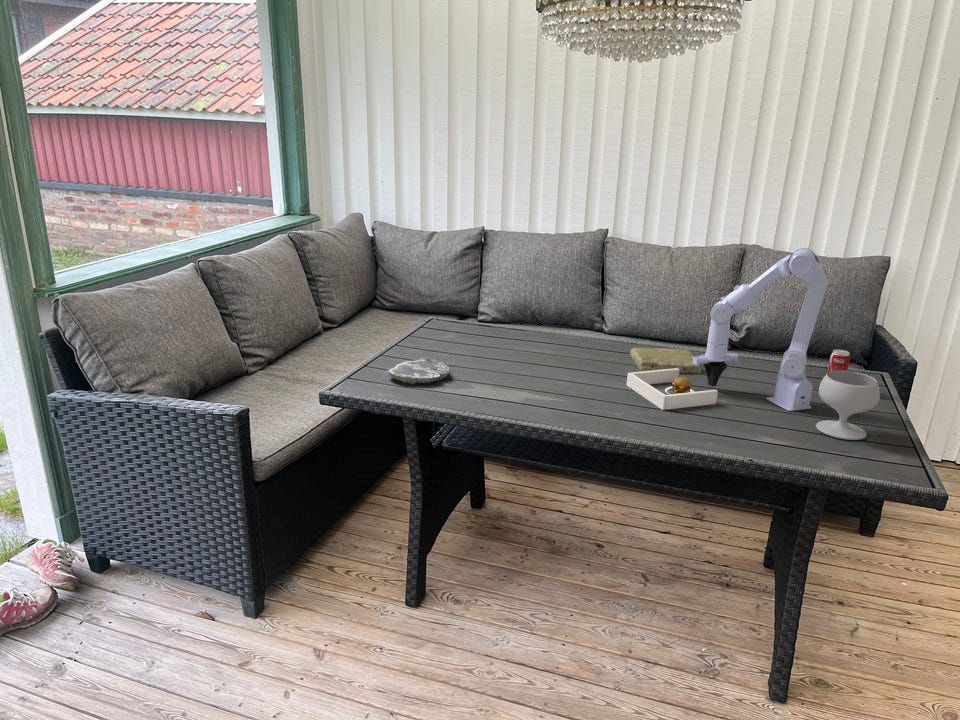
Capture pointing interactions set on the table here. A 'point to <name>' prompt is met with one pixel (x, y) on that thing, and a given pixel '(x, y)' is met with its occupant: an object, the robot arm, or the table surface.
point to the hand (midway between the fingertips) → (711, 385)
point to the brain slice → (420, 371)
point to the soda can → (839, 360)
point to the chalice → (847, 401)
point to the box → (665, 402)
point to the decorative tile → (664, 359)
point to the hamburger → (680, 386)
